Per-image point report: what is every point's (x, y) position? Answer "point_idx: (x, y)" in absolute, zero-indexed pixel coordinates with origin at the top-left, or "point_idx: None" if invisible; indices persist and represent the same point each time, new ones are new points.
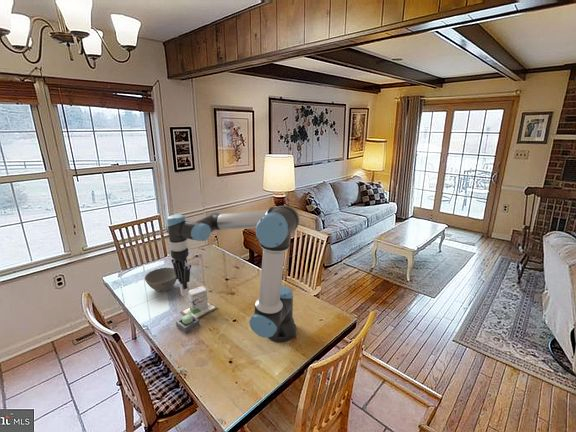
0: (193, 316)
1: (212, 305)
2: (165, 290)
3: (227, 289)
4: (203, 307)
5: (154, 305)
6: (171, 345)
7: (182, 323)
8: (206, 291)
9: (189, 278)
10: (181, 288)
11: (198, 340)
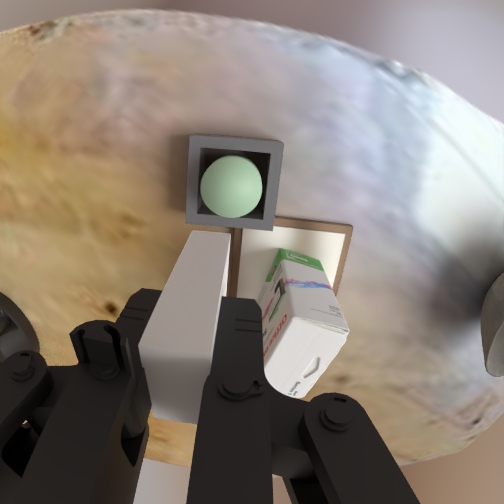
0: (236, 225)
1: None
2: (491, 286)
3: None
4: (259, 301)
5: (478, 202)
6: (182, 48)
7: (246, 157)
8: None
9: (9, 454)
10: (182, 278)
11: (112, 143)
